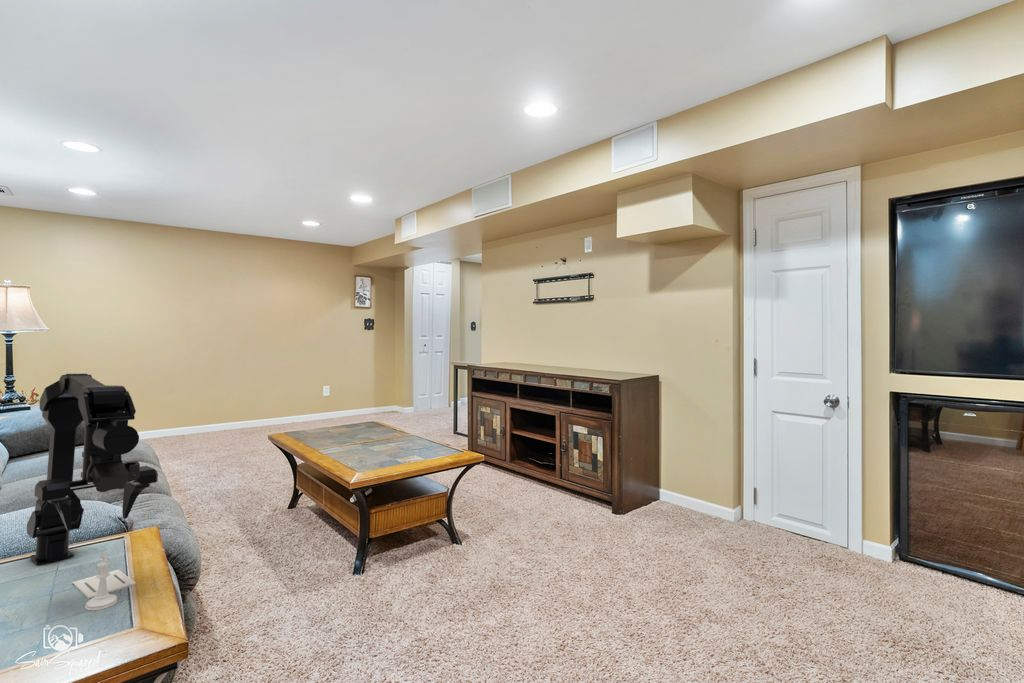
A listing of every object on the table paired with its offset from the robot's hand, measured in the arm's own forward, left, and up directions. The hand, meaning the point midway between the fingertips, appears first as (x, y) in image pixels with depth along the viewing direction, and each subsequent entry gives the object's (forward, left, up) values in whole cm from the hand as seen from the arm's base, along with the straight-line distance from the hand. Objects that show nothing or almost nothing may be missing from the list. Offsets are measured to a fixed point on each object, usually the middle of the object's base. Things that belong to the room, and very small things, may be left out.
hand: (97, 524), depth 101 cm
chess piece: (+5, 0, -15) cm, 16 cm away
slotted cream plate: (-4, +3, -15) cm, 16 cm away
